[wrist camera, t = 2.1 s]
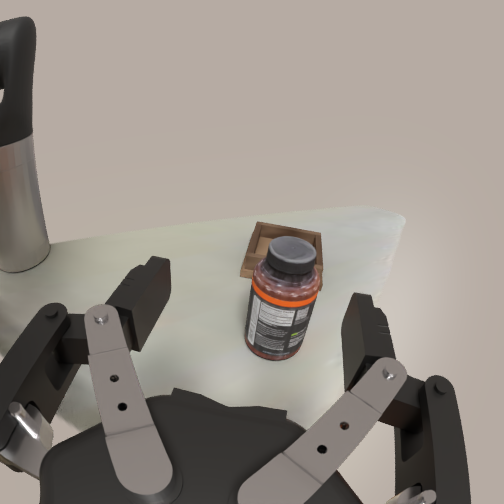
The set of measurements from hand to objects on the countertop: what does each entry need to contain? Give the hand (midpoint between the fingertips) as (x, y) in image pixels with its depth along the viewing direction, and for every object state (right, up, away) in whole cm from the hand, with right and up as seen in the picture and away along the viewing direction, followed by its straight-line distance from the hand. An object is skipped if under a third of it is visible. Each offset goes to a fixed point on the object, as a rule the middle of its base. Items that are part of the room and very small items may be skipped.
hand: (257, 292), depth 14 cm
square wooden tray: (+4, 0, +31) cm, 31 cm away
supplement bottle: (+2, -8, +19) cm, 20 cm away
